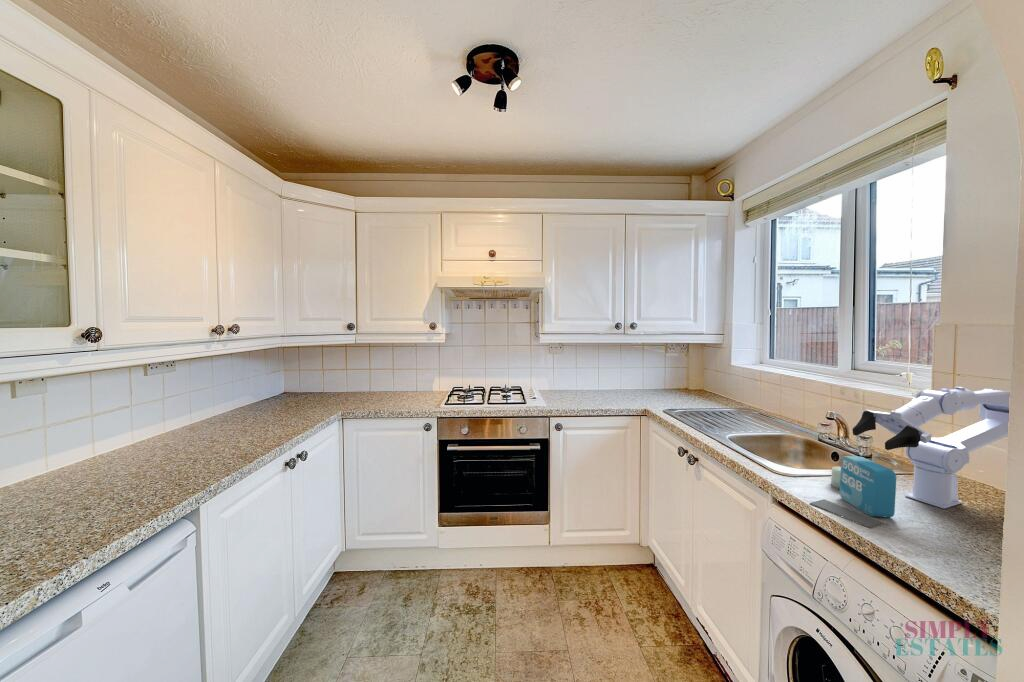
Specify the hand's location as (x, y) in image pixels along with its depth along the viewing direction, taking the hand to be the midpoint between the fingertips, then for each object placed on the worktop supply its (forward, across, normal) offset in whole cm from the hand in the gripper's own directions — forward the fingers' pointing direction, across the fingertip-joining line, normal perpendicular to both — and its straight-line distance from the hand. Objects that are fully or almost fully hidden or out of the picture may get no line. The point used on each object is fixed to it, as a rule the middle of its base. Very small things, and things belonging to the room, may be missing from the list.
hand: (869, 439), depth 102 cm
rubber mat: (+16, +6, +11) cm, 20 cm away
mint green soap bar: (+2, -6, +21) cm, 22 cm away
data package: (+9, +4, +15) cm, 18 cm away
